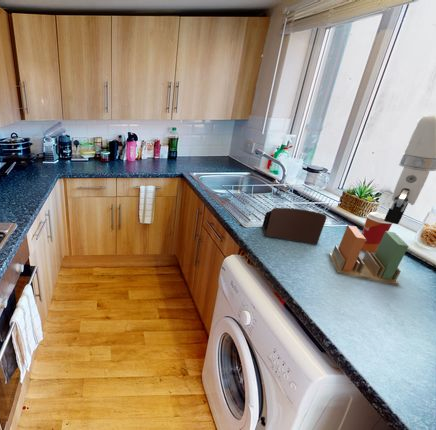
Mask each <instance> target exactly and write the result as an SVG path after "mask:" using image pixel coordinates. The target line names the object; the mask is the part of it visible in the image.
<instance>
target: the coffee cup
mask: <svg viewBox="0 0 436 430" xmlns="http://www.w3.org/2000/svg"><path fill="white" fill-rule="evenodd" d="M386 215H387V214H386V213H383V212H379V211H370V212H369V213H368V214H366V220H365V222H364V225H363V227H362V231H361V233H362V235H363V236H364V237H365V238H366V240H365V243H364V245H363V247H362V249H361V252H365V253H366V251H368V252H369V253H371V252H373V253H374V254H375V252H376V250H377V248H378V246H379V244H380V242H381V240H382V238H383V235H384V233H385V231H388V232H390V229H391V227H392V225H394V223H390V222H386V221H384V219H385V217H386Z"/></svg>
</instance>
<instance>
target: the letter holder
mask: <svg viewBox="0 0 436 430" xmlns="http://www.w3.org/2000/svg"><path fill="white" fill-rule="evenodd" d="M326 221H327V215H326V214H324V213H320V212H317V211H311V210H306V209H300V208H289V207H273V208H272V209H271V210H269V211H267V212H265V215H264V219H263V221H262V226H261V228H262V230H263V234H264V237H268V238H275V239H281V240H286V241H293V242H298V243H305V244H311V245H316V246H317V245H318V243H319V240H320V237H321V234H322V232H323V229H324V226H325V224H326Z"/></svg>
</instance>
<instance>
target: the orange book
mask: <svg viewBox="0 0 436 430" xmlns="http://www.w3.org/2000/svg"><path fill="white" fill-rule="evenodd" d="M365 240H366V238H365V237H364V236H363V235H362V231H361V230H360V229H359V228H358V227H357V226H355V225H349V224H348V225H347V226H346V228H345V230H344V233H343V235H342V238H341V240H340V243H339V245H338V248H339V250H340V252H341V254H342V255H343V257H344V259H345V263H344V265H343V268H342V269H343V270H347V271H352V270H353V267H354V265H355V263H356V261H357V258H358V256H360V254H361V252H362V250H361V249H362V247H363V245H364V243H365Z"/></svg>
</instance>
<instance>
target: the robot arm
mask: <svg viewBox="0 0 436 430" xmlns="http://www.w3.org/2000/svg"><path fill="white" fill-rule="evenodd" d="M398 166H400V167H402V168H403V169H402V170H401V172H400V175H399V178H398V180H397V182H396V185H395V188H394V190H393V194H392V196H391V201H392V203H391V206H390V207H389V208H388V211H387V213H386V214H385V215H386V217H385V219H384V221H386V222H390V223H393V225H399V223H400V222H401V219H402V218H403V215H404V213H405V211H406V209H407V207H408V204H410V206H413V205H415V203H416V202H417V200H418V197H419V196H420V193H421V192H422V189H423V187H424V186H425V183H426V182H427V179H428V177H429V174H430V172H436V114H426V115H423V116H422V117H420V118H419V119H418V120H417V123H416V125H415V128H414V130H413V132H412V134H411V137H410V138H409V141H408V143H407V145H406V148H405V150H404V153H403V155H402V157H401V159H400V161H399V164H398Z"/></svg>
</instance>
